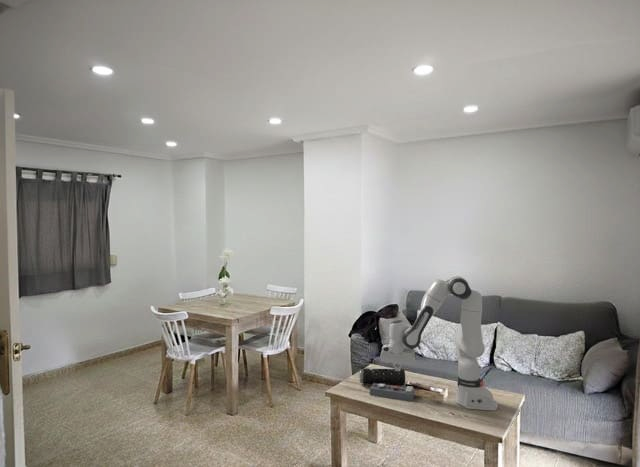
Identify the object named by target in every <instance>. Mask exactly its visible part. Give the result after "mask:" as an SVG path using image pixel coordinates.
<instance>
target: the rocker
mask: <svg viewBox="0 0 640 467" xmlns="http://www.w3.org/2000/svg"><path fill="white" fill-rule="evenodd" d="M406 388H407V389H406V392H412V389H414V386H408V385H407V386H406Z"/></svg>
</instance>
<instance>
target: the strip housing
mask: <svg viewBox="0 0 640 467" xmlns="http://www.w3.org/2000/svg"><path fill="white" fill-rule="evenodd" d="M378 385H379V384H377V383H373V385H370V387H369V395H370V396H375V397H381V398H388V399H393V400H401V401H407V402H413V401H414V398H415V396H414V394H415V393H416V389H415V388H413V389H412V392H406V389H407V386H406V387H404V386H398V387H399V388H398V389H396V388H392V386H393V385H385V386H384V387H378ZM415 395H416V394H415Z"/></svg>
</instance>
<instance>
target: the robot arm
mask: <svg viewBox="0 0 640 467" xmlns="http://www.w3.org/2000/svg"><path fill="white" fill-rule="evenodd" d="M449 295H453V296H454V297H456V298H459V299H461V310H460V319H459V321H460V327H461V330H459V331H457V332H456V333H455V334H454V336H453V342H454V345H455V352H456V356H457V364H458V365H457V368H458V369H457V371H458V372H457V374H458V375H457V379H456V381H457V382H456V385H457V391H456V392H457V393H456V397H455V400H454V402H456V403H457V404H458V405H460V406H463V407H464V408H465V409H468V410H469V409H470V410H479V411H480V410H481V411H482V410H483V411H494V412H495V411H497V409H498V408H499V403H498V402H497V400H495V398H494V396H493V394H492V392H491V390H489V389H488V388H486V387H485V386H484V381H483V379H482V378H480V364H479V361H478V359H477V358H481V357H482V356H483V354H484V353H485V350H486V349H485V348H486V347H485V344H484V342H483V334H482V317H483V316H482V315H483V297H482V293H480V292H479V291H477V290H475V289H471V287H470V285H469V282H468V281H467V280H466V279H465V278H464V277H462V276H454V277H452V278H450V279H447V280H446V281H445V280H443V279H435V280H434V281H433V282H432V283H431V284H430V286H429V287H428V289H427V290H426V291H425V293H424V295H423V297H422V298H421V302H420V310H419V313H418V316H417V318H416V319H415V322H414V323H413V325H411V324H408V323H406V322H405V321H403V320H402V319H396V320H393V321H391V322H390V324H389V329H388V336H389V342H388V343H387V344H383V346H382V347H381V352H380V357H379V358H380V359H379V360H380V362H381V363H386V364H392V366H393V367H394V368H393V369H395V371H400V369H402V366H403V365H407V366H413V365H415V363H416V361H415V360H416V359H415V355H416V351H415V350H414V349H416V348H417V347H419V346H420V344H421V342H422V340H421V338H422V334H423V332H424V331H425V328H427V327H426V326H427V325H428V324H429V322H430V321H431V319H432V317H433V316H434V315H435V313H437V311H438V310H439V308H440V307H441V306H442V305H443V303H444V302H445V300H446V299H447V297H448V296H449ZM396 365H398V367H397V366H396Z"/></svg>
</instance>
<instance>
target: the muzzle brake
mask: <svg viewBox="0 0 640 467" xmlns="http://www.w3.org/2000/svg"><path fill="white" fill-rule="evenodd" d="M358 377H359V384H362V385H369V386H372V385H373V383H377V384H385V385H391V386H404V385H405V384H406V371H405V369H404V368H400V371H395V368H372V369H371V368H369V367H368V368H366V367H365V368H364V367H363V368H362V369H361V368H360V369H359V376H358Z"/></svg>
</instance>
